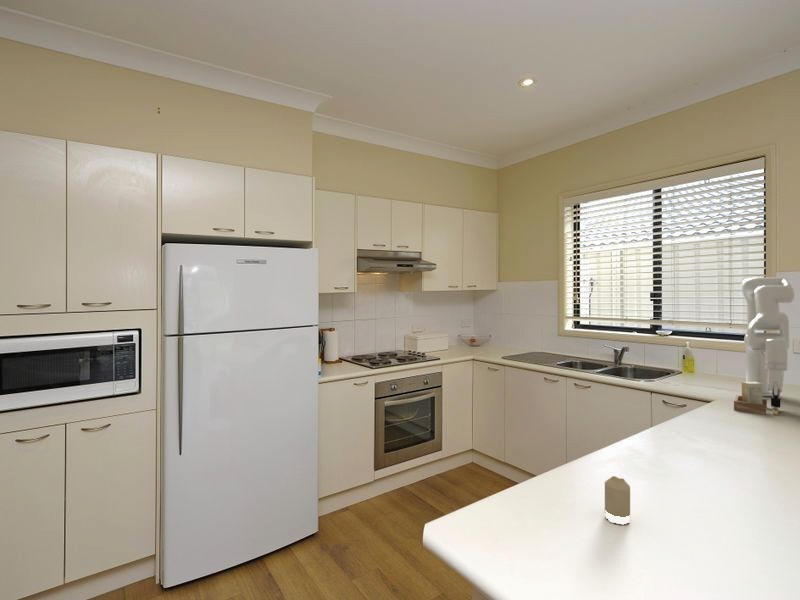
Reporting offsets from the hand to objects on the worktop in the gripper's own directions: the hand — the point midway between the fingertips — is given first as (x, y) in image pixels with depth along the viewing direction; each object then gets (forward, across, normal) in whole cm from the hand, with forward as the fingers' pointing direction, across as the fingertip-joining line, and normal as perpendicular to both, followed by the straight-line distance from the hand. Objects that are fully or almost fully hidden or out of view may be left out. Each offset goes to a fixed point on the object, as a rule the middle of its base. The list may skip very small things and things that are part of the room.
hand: (775, 406), depth 190 cm
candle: (+3, +143, -28) cm, 145 cm away
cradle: (+2, +5, -9) cm, 10 cm away
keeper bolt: (+1, +6, 0) cm, 6 cm away
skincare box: (+2, +5, -8) cm, 10 cm away
